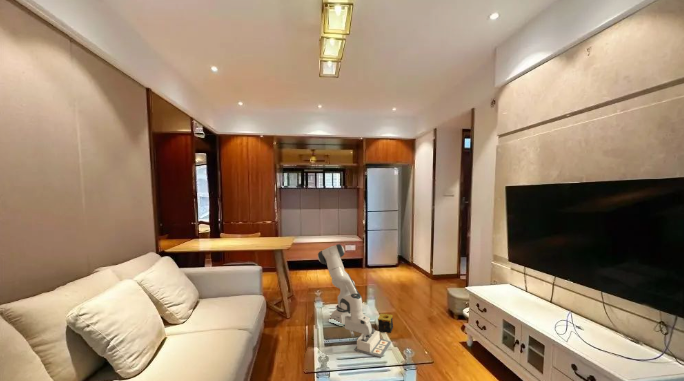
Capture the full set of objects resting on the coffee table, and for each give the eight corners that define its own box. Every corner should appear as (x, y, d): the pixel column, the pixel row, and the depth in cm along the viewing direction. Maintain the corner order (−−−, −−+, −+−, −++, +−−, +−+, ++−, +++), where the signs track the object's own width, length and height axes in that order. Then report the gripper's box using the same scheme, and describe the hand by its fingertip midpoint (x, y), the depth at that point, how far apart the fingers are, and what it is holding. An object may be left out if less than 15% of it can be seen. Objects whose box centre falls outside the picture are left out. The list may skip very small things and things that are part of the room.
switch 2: (365, 342, 183) (364, 333, 183) (367, 339, 186) (366, 331, 186) (370, 343, 181) (369, 334, 181) (372, 340, 184) (371, 332, 184)
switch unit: (354, 350, 179) (353, 340, 179) (365, 336, 195) (365, 327, 195) (380, 358, 169) (380, 347, 169) (390, 342, 185) (390, 333, 185)
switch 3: (368, 338, 188) (368, 329, 188) (370, 335, 191) (370, 327, 191) (373, 339, 186) (372, 330, 186) (375, 336, 189) (374, 328, 189)
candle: (378, 332, 201) (377, 319, 201) (381, 325, 210) (380, 313, 211) (391, 333, 197) (390, 320, 197) (393, 327, 207) (392, 314, 207)
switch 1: (362, 348, 178) (361, 339, 178) (364, 345, 181) (363, 336, 181) (366, 349, 176) (366, 340, 176) (369, 346, 179) (368, 338, 179)
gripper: (342, 317, 184) (343, 336, 184) (368, 322, 173) (369, 343, 173) (346, 313, 189) (348, 332, 189) (371, 318, 179) (373, 338, 178)
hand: (358, 337), depth 181 cm, fingers open, 8 cm apart
